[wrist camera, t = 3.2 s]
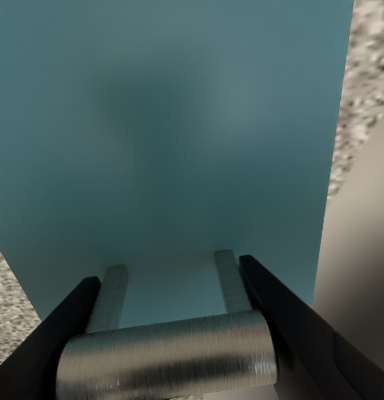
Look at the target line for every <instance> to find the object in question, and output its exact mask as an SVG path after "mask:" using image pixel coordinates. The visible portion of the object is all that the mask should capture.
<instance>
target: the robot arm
mask: <svg viewBox="0 0 384 400" xmlns="http://www.w3.org/2000/svg"><path fill="white" fill-rule="evenodd" d="M239 269H240V272H241V275H242V278H243V281H244V284H245V287H246V289H247V292H248V295H249V298H250V301H251V304H252V307H253V310H255V309H259V310H261V311H262V312H263V313H264V315H265V317H266V318H267V321H268V323H269V325H270V328H271V331H272V334H273V337H274V341H275V345H276V349H277V354H278V359H279V367H280V377H279V381H278V382H277V383H275V384H274V387H275V390H276V392H277V395H278V398H279V400H384V370H383V369H381V368H380V367H379V366H378V365H376V364H375V363H374V362H373V361H371V360H370V359H369V358H368V357H366V356H365V355H364V354H363V353H362V352H361V351H359V350H358V349H357V348H356V347H355V346H353V345H352V344H351V343H350V342H349V341H348V340H346V339H345V338H344V337H343V336H342V335H341V334H340V333H338V332H337V331H335V330H334V328H333V327H332V326H331V325H330V324H328V323H327V322H326V321H325V320H324V319H323V318H322V317H320V315H318V314H317V313H316V312H315V311H314V310H313V309H312V308H311V307H309V306H308V305H307V304H306V303H305V302H304V301H303V300H302V299H300V298H299V297H298V296H297V295H296V294H295V293H294V292H293V291H291V290H290V289H289V288H288V287H287V286H286V285H285V284H284V283H282V282H281V281H280V280H279V279H278V278H277V277H276V276H275V275H273V274H272V273H271V272H270V271H269V270H268V269H267V268H266V267H264V266H263V265H262V264H261V263H260V262H259V261H258V260H257V259H255V258H254V257H253V256H252V255H250V254H248V255H241V256H239ZM100 286H101V282H100V280H99V278H98V277H97V276H91V277H86V278H84V279H83V280H82V281H81V282H80V283H79V284H78V285H77V286H76V287H75V288H74V289H73V290H72V291H71V292H70V293H69V294H68V295H67V296H66V297H65V299H64V300H63V301H62V302H61V303H60V304H59V305H58V306H57V307H56V308H55V309H54V310H53V311H52V312H51V313H50V314H49V315H48V316H47V317H46V318H45V319H44V320H43V321H42V322H41V323H40V325H39V326H38V327H37V328H36V329H35V330H34V331H33V332H32V333H31V334H30V335H29V336H28V337H27V338H26V339H25V340H24V341H23V342H22V343H21V344H20V345H19V346H18V347H17V348H16V350H15V351H14V352H13V353H12V354H11V355H10V356H9V357H8V358H7V359H6V360H5V361H4V362H3V363H2V364H1V365H0V400H55V395H54V378H55V371H56V366H57V362H58V359H59V356H60V353H61V351H62V349H63V347H64V345H65V344H66V342H67V341H68V340H69V339H70V338H71V337H73V336H75V335H79V334H84V331H85V328H86V325H87V323H88V320H89V317H90V314H91V311H92V309H93V306H94V303H95V300H96V297H97V295H98V292H99V289H100ZM164 400H170V399H164Z"/></svg>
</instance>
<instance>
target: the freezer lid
mask: <svg viewBox="0 0 384 400" xmlns="http://www.w3.org/2000/svg"><path fill="white" fill-rule="evenodd" d="M353 4H354V0H0V251H1V253H2V255H3V256H4V258H5V260H6V261H7V263H8V265H9V267H10V268H11V270H12V272H13V273H14V275H15V277H16V278H17V280H18V282H19V284H20V285H21V287H22V289H23V290H24V292H25V294H26V296H27V297H28V299H29V301H30V302H31V304H32V306H33V307H34V309H35V311H36V313H37V314H38V316H39V318H40V319H41V321H43V320H44V319H45V318H46V317H47V316H48V315H49V314H50V313H51V312H52V311H53V310H54V309H55V308H56V307H57V306H58V305H59V304H60V303H61V302H62V301H63V300H64V299H65V297H66V296H67V295H68V294H69V293H70V292H71V291H72V290H73V289H74V288H75V287H76V286H77V285H78V284H79V283H80V282H81V281H82V280H83V279H84V278H86V277H91V276H97V277H98V278H99V280H100V282H101V286H100V289H99V292H98V295H97V297H96V300H95V303H94V306H93V309H92V311H91V314H90V317H89V320H88V323H87V325H86V328H85V331H84V334H79V335H75V336H73V337H71V338H70V339H69V340H68V341H67V342H66V344H65V345H64V347H63V349H62V351H61V353H60V356H59V359H58V362H57V366H56V371H55V378H54V395H55V400H164V399H171V398H178V397H184V396H191V395H198V394H205V393H212V392H219V391H226V390H233V389H240V388H247V387H254V386H261V385H267V384H275V383H277V382H278V381H279V377H280V367H279V359H278V354H277V349H276V345H275V341H274V337H273V334H272V331H271V328H270V325H269V323H268V321H267V318H266V317H265V315H264V313H263V312H262V311H261V310H259V309H255V310H253V307H252V304H251V301H250V298H249V295H248V292H247V289H246V287H245V284H244V281H243V278H242V275H241V272H240V269H239V256H241V255H248V254H250V255H252V256H253V257H254V258H255V259H257V260H258V261H259V262H260V263H261V264H262V265H263V266H264V267H266V268H267V269H268V270H269V271H270V272H271V273H272V274H273V275H275V276H276V277H277V278H278V279H279V280H280V281H281V282H282V283H284V284H285V285H286V286H287V287H288V288H289V289H290V290H291V291H293V292H294V293H295V294H296V295H297V296H298V297H299V298H300V299H302V300H303V301H304V302H305V303H306V304H307V305H308V306H309V307H311V308H312V302H313V295H314V287H315V280H316V273H317V266H318V258H319V251H320V244H321V237H322V229H323V222H324V215H325V208H326V200H327V193H328V186H329V179H330V171H331V164H332V157H333V150H334V142H335V135H336V128H337V120H338V113H339V106H340V99H341V91H342V84H343V77H344V70H345V62H346V55H347V48H348V41H349V33H350V26H351V19H352V11H353Z"/></svg>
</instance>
